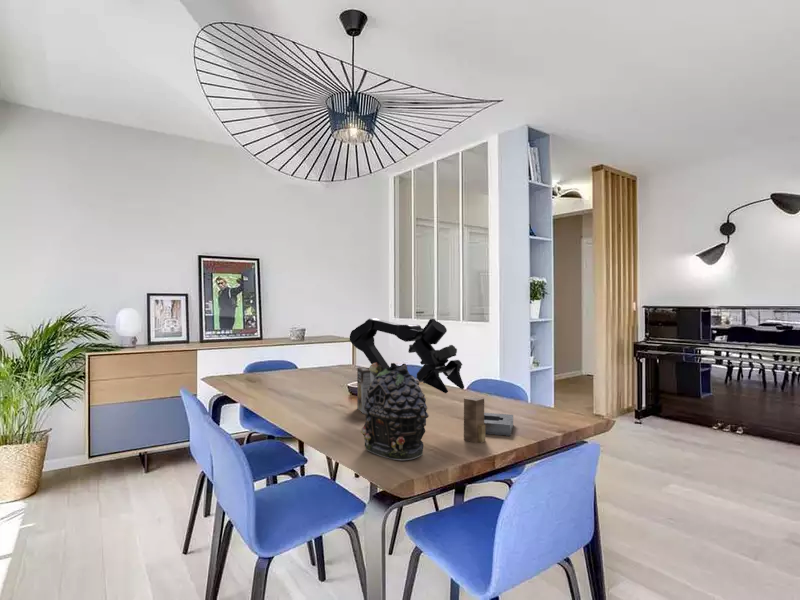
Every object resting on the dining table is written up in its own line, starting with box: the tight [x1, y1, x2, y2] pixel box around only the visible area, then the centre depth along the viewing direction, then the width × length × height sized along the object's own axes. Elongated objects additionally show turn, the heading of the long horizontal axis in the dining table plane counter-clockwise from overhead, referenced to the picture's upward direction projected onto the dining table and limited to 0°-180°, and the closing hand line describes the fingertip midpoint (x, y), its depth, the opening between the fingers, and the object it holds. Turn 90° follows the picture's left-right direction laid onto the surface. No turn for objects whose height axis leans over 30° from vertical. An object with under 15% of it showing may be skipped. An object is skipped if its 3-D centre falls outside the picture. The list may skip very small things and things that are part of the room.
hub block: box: [484, 412, 514, 437], centre depth 149 cm, size 14×14×4 cm
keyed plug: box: [463, 396, 486, 443], centre depth 136 cm, size 6×4×12 cm
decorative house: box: [360, 362, 430, 461], centre depth 125 cm, size 21×15×25 cm
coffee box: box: [356, 367, 371, 414], centre depth 174 cm, size 9×6×16 cm
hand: (455, 390), depth 142 cm, fingers open, 9 cm apart
